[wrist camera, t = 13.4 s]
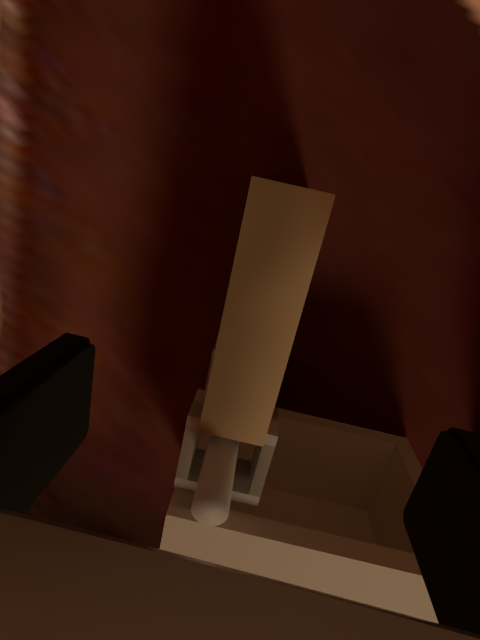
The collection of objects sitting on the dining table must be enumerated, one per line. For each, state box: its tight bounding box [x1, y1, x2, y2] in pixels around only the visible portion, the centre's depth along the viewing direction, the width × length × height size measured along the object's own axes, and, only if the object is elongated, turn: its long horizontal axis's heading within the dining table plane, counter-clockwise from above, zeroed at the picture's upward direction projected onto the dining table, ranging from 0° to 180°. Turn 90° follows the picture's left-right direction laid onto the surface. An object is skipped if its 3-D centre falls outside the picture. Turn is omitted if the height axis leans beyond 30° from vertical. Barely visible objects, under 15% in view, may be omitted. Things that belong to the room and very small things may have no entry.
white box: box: [160, 408, 439, 624], centre depth 24 cm, size 16×12×14 cm
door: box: [174, 176, 335, 506], centre depth 22 cm, size 4×15×12 cm, turn 168°
